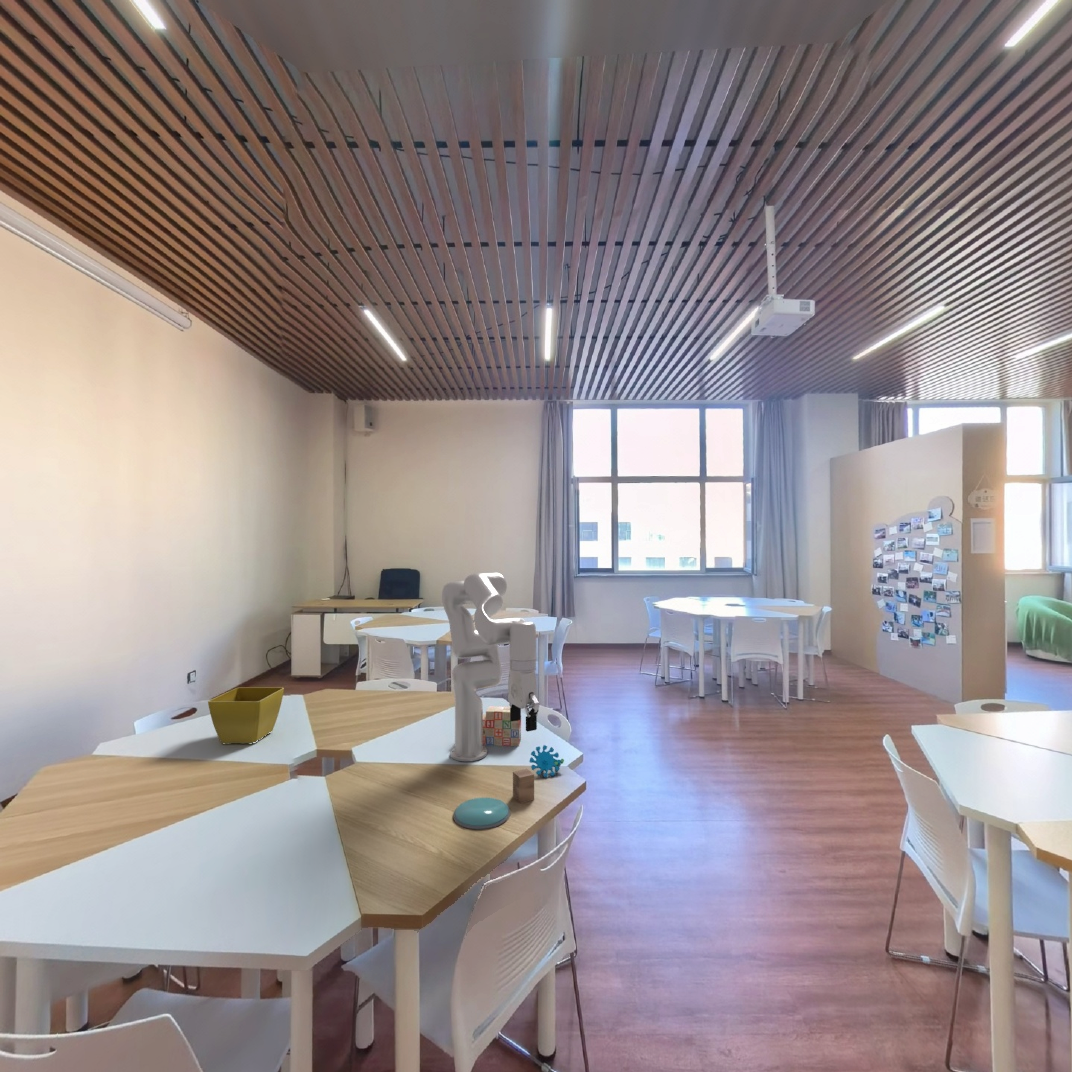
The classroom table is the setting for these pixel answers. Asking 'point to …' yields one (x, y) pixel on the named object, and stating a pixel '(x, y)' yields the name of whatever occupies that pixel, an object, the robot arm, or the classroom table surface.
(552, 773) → the spiky teal germ figurine
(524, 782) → the walnut block
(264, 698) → the flower pot
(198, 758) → the classroom table surface
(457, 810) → the teal domed disc
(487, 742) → the stack of blocks
